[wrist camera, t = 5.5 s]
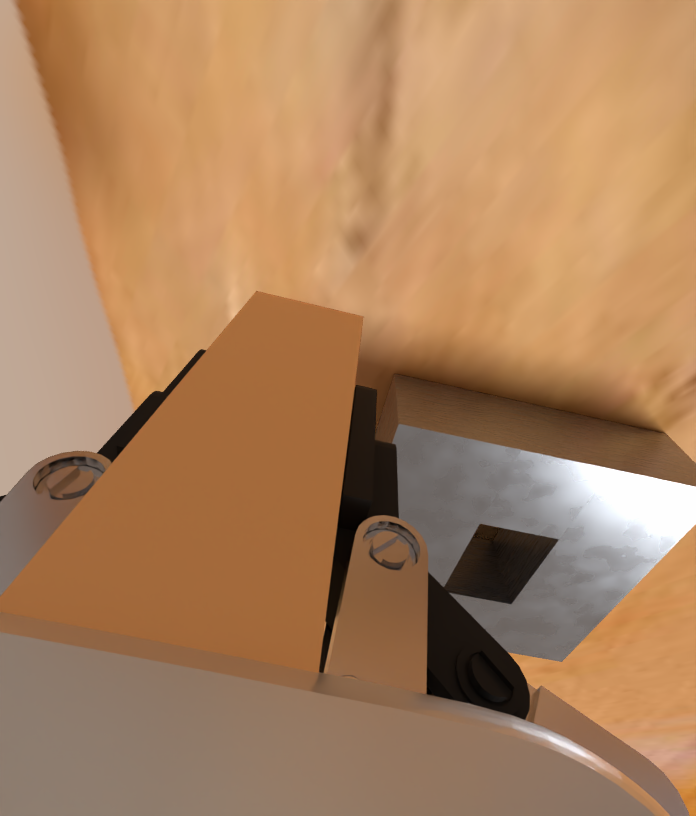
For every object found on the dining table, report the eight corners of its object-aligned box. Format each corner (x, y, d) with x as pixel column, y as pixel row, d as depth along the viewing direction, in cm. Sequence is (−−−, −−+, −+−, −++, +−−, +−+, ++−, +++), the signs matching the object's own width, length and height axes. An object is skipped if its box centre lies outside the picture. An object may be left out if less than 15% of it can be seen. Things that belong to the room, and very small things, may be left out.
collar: (666, 433, 30) (725, 493, 25) (538, 596, 41) (561, 661, 36) (394, 373, 29) (398, 423, 24) (335, 558, 39) (329, 620, 34)
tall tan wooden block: (363, 316, 12) (305, 772, 3) (329, 453, 14) (249, 895, 6) (256, 290, 12) (-89, 702, 3) (241, 434, 14) (35, 861, 6)
